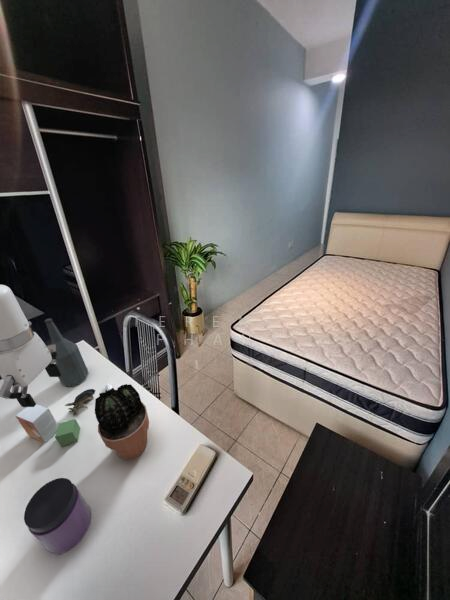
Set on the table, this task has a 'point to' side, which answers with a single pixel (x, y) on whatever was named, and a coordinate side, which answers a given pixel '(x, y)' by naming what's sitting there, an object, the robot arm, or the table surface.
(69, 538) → the jar
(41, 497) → the jar lid
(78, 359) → the bottle
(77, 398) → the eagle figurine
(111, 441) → the potted plant
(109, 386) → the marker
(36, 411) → the small box
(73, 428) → the block
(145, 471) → the table surface
